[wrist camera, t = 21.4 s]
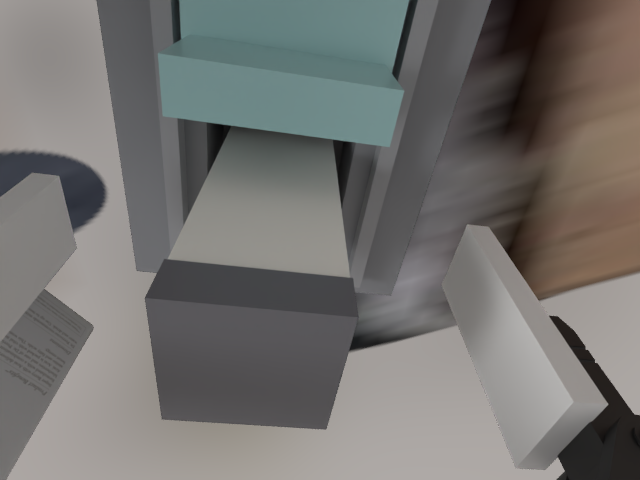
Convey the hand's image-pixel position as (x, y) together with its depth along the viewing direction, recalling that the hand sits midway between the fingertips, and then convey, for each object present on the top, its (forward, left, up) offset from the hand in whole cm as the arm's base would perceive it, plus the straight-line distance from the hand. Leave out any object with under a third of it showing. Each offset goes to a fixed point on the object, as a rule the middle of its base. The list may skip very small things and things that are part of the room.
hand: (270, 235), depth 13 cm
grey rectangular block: (0, 0, -7) cm, 7 cm away
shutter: (0, +7, -3) cm, 8 cm away
